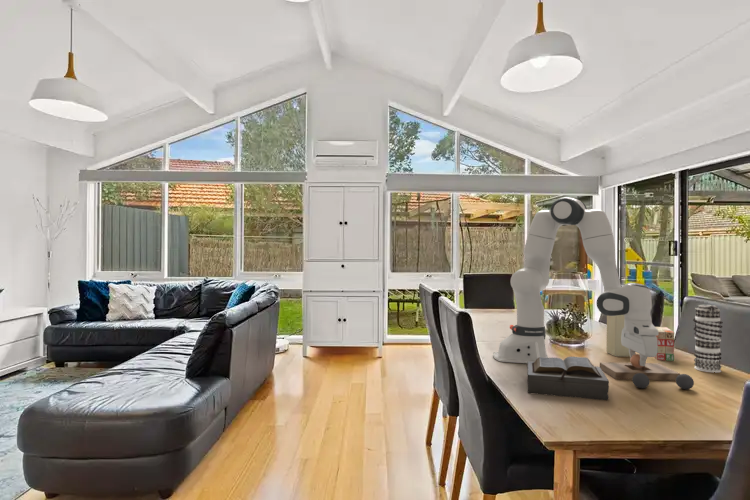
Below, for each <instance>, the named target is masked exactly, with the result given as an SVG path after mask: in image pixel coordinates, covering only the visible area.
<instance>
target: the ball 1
mask: <svg viewBox="0 0 750 500" xmlns="http://www.w3.org/2000/svg"><path fill="white" fill-rule="evenodd" d="M631 380H632V383H633V385H634V386H635V387H636V388H639V389H646V388H647V387H648V386H650V382H651V380H649V378H648V377H647V376H646V375H645V374H643V373H637V374H635V375H634V376H633V378H632V379H631Z"/></svg>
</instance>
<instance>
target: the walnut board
mask: <svg viewBox="0 0 750 500" xmlns="http://www.w3.org/2000/svg"><path fill="white" fill-rule="evenodd" d="M599 367H600V368H601V369H602V371H603V373H606V374H607V375H609V376H610V377H612V378H613V379H615V380H632V378H633V376H634V375H635V374H637V373H643V374H645V375H646V376H647V377H648V378H649V381H676V378H677V376H678V375H680V374H681V373H680V372H678V371H675V370H673V369H671V368H669V367H667V366H665V365H663V364H661V363H657V362H653V363H651V362H646V364H645V366H643V367H642V368H636V367H634V366H633V365H632V364H631V362H611V361H610V362H609V361H608V362H607V361H606V362H605V361H604V362H603V361H602V362H600V361H599Z"/></svg>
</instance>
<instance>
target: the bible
mask: <svg viewBox="0 0 750 500" xmlns="http://www.w3.org/2000/svg"><path fill="white" fill-rule="evenodd" d="M526 365H527V368H526V369H527V372H526V375H527V377H526V378H527V394H531V393H538V394H537V395H544V394H547V395H546V396H554V395H555V396H556V397H567V398H578V399H587V400H588V399H589V400H597V401H603V400H604V401H608V400H609V390H610V386H609V385H610V381H609V379H608V377H607V376H606V374H605V372H604V371H603V370H602V369H601V368H600V366H594V364H592V362H591V361H590V359H589V358H588V357H587V356H586V357H585V356H584V357H583V356H581V357H580V356H567V357H566V358H564V359H562V358H559V357H548V358H544V357H539V358H537V359H536V361H535V362H527V363H526Z"/></svg>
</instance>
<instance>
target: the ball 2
mask: <svg viewBox="0 0 750 500" xmlns="http://www.w3.org/2000/svg"><path fill="white" fill-rule="evenodd" d="M675 383H676V385H677V387H679V388H680V389H682V390H691V389H692V388H693V387H694V384H695V381H694V379H693V377H692V376H691V375H689V374H687V373H680V375H678V376H677V378H676V380H675Z"/></svg>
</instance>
